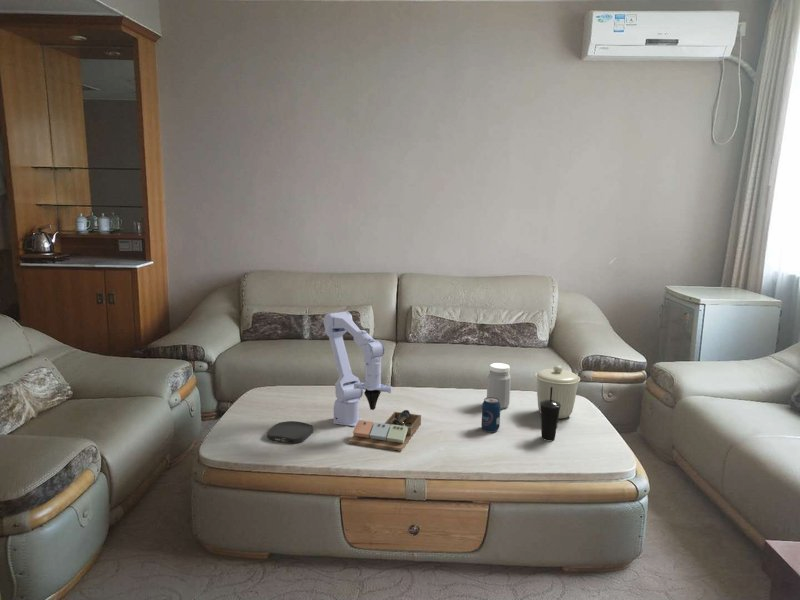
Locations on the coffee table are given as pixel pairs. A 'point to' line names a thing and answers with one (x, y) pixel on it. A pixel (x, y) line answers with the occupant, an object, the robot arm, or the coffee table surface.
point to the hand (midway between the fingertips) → (372, 408)
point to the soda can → (490, 414)
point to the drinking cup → (549, 417)
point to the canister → (557, 388)
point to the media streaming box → (290, 432)
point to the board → (370, 442)
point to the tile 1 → (363, 428)
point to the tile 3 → (397, 433)
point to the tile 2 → (380, 431)
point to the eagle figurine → (401, 418)
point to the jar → (499, 383)
